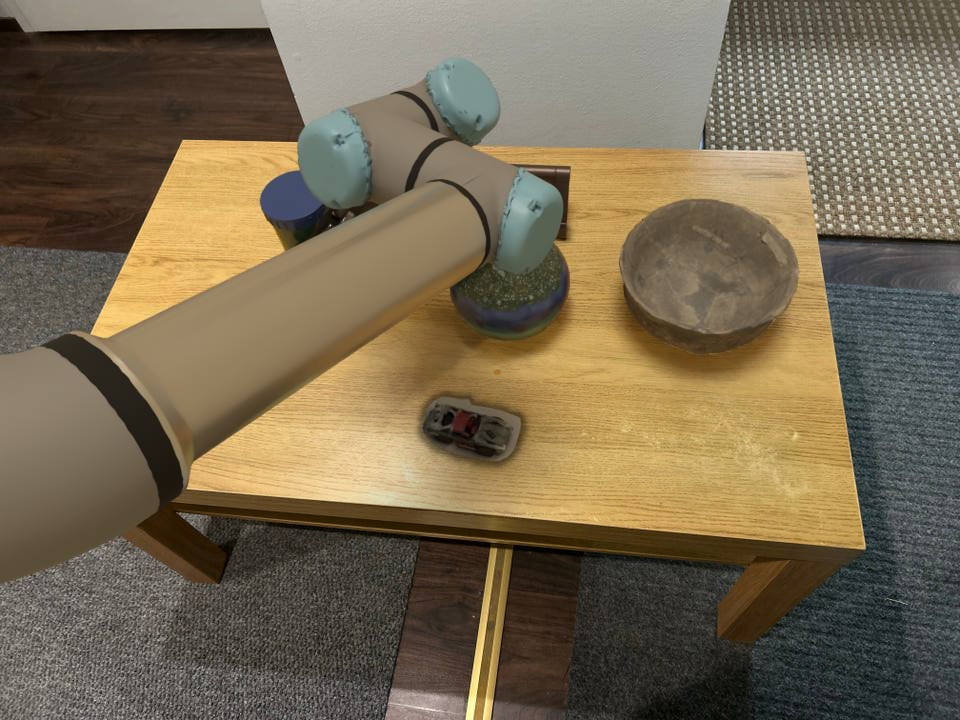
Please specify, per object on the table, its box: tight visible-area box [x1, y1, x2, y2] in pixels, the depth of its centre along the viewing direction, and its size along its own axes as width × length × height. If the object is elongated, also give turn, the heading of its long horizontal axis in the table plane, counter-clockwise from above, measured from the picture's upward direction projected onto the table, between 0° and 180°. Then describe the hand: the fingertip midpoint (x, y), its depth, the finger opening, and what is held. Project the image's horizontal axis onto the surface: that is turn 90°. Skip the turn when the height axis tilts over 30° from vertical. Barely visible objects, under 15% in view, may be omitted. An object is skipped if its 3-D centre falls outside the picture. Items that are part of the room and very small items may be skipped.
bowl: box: [618, 197, 800, 356], centre depth 86 cm, size 21×21×10 cm
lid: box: [259, 169, 328, 231], centre depth 81 cm, size 8×8×2 cm
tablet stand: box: [510, 163, 572, 239], centre depth 97 cm, size 9×8×8 cm
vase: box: [448, 242, 571, 342], centre depth 87 cm, size 15×15×13 cm
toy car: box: [422, 396, 522, 462], centre depth 82 cm, size 8×12×3 cm
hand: (294, 249), depth 90 cm, fingers closed on jar, 8 cm apart
